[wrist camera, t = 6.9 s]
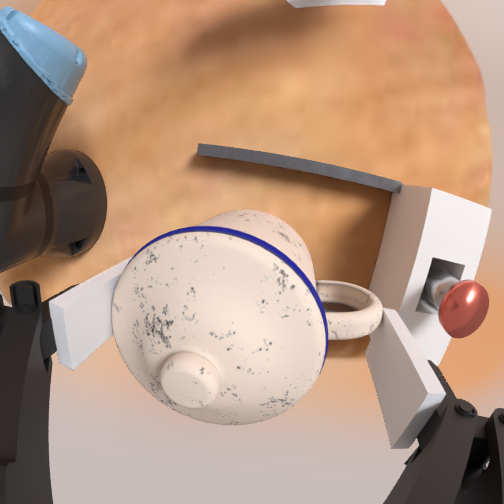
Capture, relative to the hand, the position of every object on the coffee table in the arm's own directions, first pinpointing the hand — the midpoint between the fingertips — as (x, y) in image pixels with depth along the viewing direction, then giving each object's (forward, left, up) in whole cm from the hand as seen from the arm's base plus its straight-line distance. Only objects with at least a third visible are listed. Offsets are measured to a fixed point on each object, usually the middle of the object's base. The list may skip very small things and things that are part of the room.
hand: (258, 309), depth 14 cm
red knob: (+15, 0, -11) cm, 19 cm away
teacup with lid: (0, 0, -6) cm, 6 cm away
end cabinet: (+15, 0, -19) cm, 25 cm away
